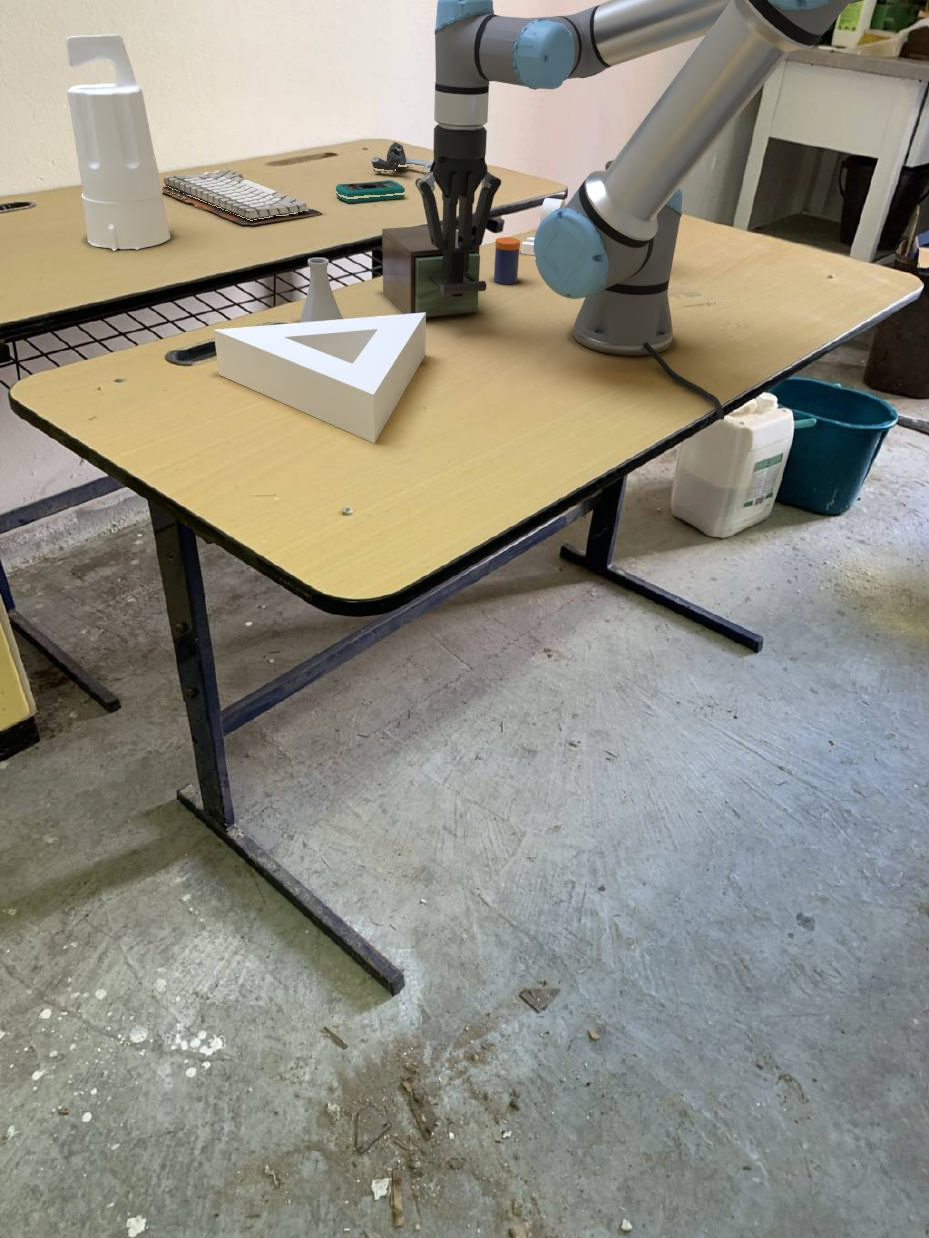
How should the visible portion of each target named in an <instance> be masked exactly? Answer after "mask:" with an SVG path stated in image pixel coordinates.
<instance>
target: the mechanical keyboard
mask: <svg viewBox="0 0 929 1238" xmlns="http://www.w3.org/2000/svg"><path fill="white" fill-rule="evenodd" d="M163 184H165V185H164V186H162V193H164V194H166V195H169V196H170V197H173V198H175V199H178V200H180V201H181V202H185V203H188V204H193V205H194V207H196V208H199V209H201V210H204V211H208V212H211V213H213V214H214V215H218V216H220V217H221V218H223V219H224V218H225V219H227V220H229V221H230V222H231V221H232V222H234V223H236V224H239V225H242V226H247V225H248V226H260V225H264V224H271V223H278V222H282V221H283V222H284V221H291V220H296V219H303V218H309V217H317V216H321V215H323V213H322V212H320V211H319V210H316V209H313V208H312V209H311V208H309V207H308V206H307V203H306V202H305V201H302V200H300V199H296V198H294V197H291V196H287V195H286V194H284V193H281V192H277V191H276V190H275V189H272V188H269V187H267V186H265V185H263V184H259V183H257V182H254V181H251V180H248V179H245V178H244V177H243V174H242V173H240V172H236V171H235V170H231V169H230V168H225V169H223V170H219V169H215V170H214V171H212V172H211V171H205V172H203V173H199V172H197V173H191V174H189V173H188V174H184V175H182V174H174V175H173V176H171V175H165V176H163ZM166 186H167V187H166ZM168 186H169V187H171V188H173V190H172V189H171V188H169V187H168ZM174 189H176V190H178V191H176V190H174ZM167 191H169V192H167ZM179 191H180V192H179ZM172 193H173V194H172ZM174 193H175V194H174ZM183 193H184V194H183ZM186 194H187V195H191V196H193V197H196V198H199V199H200V200H203V201H205V202H207V203H205V202H203V201H200V200H198V199H195V198H193V197H190V196H187V195H186ZM178 195H180V196H178ZM183 197H184V198H185V197H186V198H185V199H184V198H183ZM208 203H210V204H212V205H216V206H217V207H221V208H222V209H224V210H222V209H221V208H217V207H216V206H212V205H210V204H208ZM225 210H228V211H229V212H228V211H225ZM305 210H309V211H305ZM300 211H302V212H300ZM230 212H231V213H230ZM294 212H298V213H296V214H289V213H294ZM233 213H234V214H233ZM235 214H236V215H235ZM286 214H289V215H286ZM237 215H240V216H242V217H245V218H242V217H240V216H237ZM276 215H286V216H276ZM269 216H273V217H270V218H264V217H269ZM246 218H247V219H250V220H253V221H250V220H247V219H246ZM258 218H264V219H258ZM254 219H257V220H254Z"/></svg>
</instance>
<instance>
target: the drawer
mask: <svg viewBox="0 0 929 1238" xmlns="http://www.w3.org/2000/svg"><path fill="white" fill-rule="evenodd" d="M480 267H481V255H480V253H479V254H477V253H476V254H469V270H468V272H464V273H463V283H453V284H448V274H446V273H445V272H444V271H443V254H440V255H427V256H415V313H424V312H426V317H427V316H436V315H446V314H456V313H465V312H475V311H477V312H478V310H479V292H486V290H487V282H486V281H485V280H480V269H481V268H480ZM458 293H463V296H459V297H453V296H452V295H451V294H458Z"/></svg>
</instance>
